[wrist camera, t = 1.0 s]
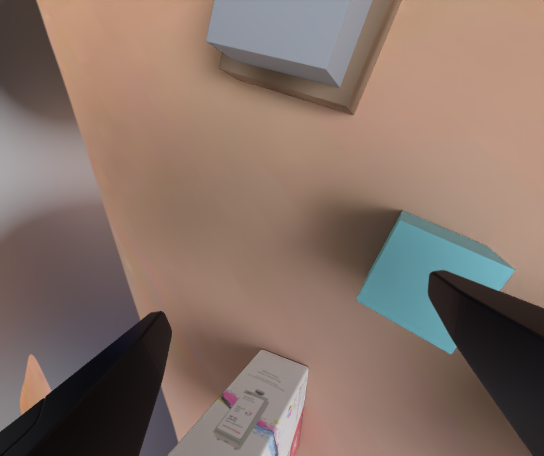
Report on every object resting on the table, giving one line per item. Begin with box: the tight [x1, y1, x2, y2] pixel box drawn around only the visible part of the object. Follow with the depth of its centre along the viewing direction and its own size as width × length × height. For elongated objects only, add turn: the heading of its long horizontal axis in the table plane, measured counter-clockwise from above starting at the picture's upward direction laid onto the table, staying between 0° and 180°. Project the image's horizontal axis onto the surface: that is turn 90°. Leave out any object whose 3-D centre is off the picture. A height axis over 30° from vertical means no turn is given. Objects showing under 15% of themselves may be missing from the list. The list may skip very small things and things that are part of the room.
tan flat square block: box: [219, 0, 402, 115], centre depth 17 cm, size 10×10×3 cm
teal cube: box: [356, 210, 515, 354], centre depth 15 cm, size 5×5×5 cm
